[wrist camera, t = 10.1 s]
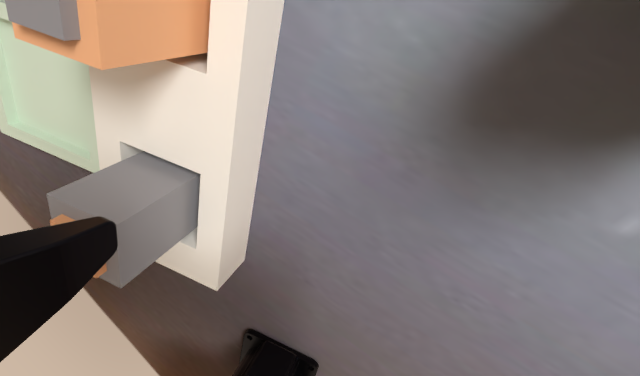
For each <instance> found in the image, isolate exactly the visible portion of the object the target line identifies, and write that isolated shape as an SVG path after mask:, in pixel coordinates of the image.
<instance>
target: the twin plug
mask: <svg viewBox="0 0 640 376" xmlns="http://www.w3.org/2000/svg"><path fill="white" fill-rule="evenodd" d="M200 176H201V174H199V173H196V172H194V171H192V170H189V169H187V168H184V167H182V166H179V165H177V164H175V163H172V162H170V161H167V160H165V159H162V158H160V157H157V156H155V155H153V154H150V153H148V152H145V151H143V152H141V153H138V154H136V155H134V156H132V157H129V158H127V159H125V160H122V161H120V162H118V163H116V164H113V165H111V166H109V167H107V168H104V169H102V170H100V171H97V172H95V173H93V174H91V175H88V176H86V177H84V178H81V179H79V180H77V181H75V182H72V183H70V184H68V185H66V186H63V187H61V188H59V189H56V190H54V191H52V192H50V193H47V199H48V204H49V209H50V214H51V220H50V224H51V226H52V225H57V224H62V223H67V222H71V221H76V220H81V219H86V218H91V217H96V216H103V217H105V218H107V219H110V220H112V221H114V222H115V224H116V227H117V238H118V248H117V250H116V252H115V254H114V255H113V256H112V257H111V258H110V259H109V260H108V261H107V262H106V263H105V264H104V265H103V266H102V268H101V269H100V270H99V271H98V272H97V273H96V274H95V275H94V276H93V277H95V278H98V277H99V278H101V279H103V280H105V281H107V282H109V283H111V284H113V285H115V286H117V287H119V288H122V287H124V286H125V285H126V284H127V283H129V282H130V281H131V280H132V279H134V278H135V277H136V276H137V275H138V274H140V273H141V272H142V271H143V270H145V269H146V268H147V267H148V266H150V265H151V264H152V263H153V262H155V261H156V260H157V259H158V258H159V257H161V256H162V255H163V254H164V253H166V252H167V251H168V250H169V249H171V248H172V247H173V246H174V245H175V244H177V243H178V242H179V241H180V240H182V239H183V238H184V237H185V236H187V235H188V234H189V233H190V232H192V231H193V230H194V229H195V228H196V227H198V210H199V193H200Z"/></svg>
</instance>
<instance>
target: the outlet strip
mask: <svg viewBox="0 0 640 376" xmlns="http://www.w3.org/2000/svg"><path fill="white" fill-rule="evenodd" d="M283 7H284V0H211V5H210V22H209V39H208V53H202V54H196V55H190V56H184V57H178V58H172V59H166V60H160V61H154V62H148V63H142V64H136V65H130V66H124V67H118V68H112V69H105V70H100V69H97V68H95V67H92V66H89V74H90V84H91V93H92V102H93V112H94V121H95V130H96V139H97V149H98V158H99V167H100V170H102V169H104V168H107V167H109V166H111V165H113V164H116V163H118V162H120V161H122V160H125V159H127V158H129V157H132V156H134V155H136V154H138V153H141V152H143V151H145V152H148V153H150V154H153V155H155V156H157V157H160V158H162V159H165V160H167V161H170V162H172V163H175V164H177V165H179V166H182V167H184V168H187V169H189V170H192V171H194V172H196V173H199V174H201V176H200V193H199V210H198V227H196V228H195V229H194V230H193V231H192V232H190V233H189V234H188V235H187V236H185V237H184V238H183V239H182V240H180V241H179V242H178V243H177V244H175V245H174V246H173V247H172V248H171V249H169V250H168V251H167V252H166V253H164V254H163V255H162V256H161V257H159V258H158V259H157V260H156V261H155V262H157V263H159V264H161V265H163V266H165V267H168V268H170V269H172V270H174V271H176V272H178V273H180V274H182V275H184V276H186V277H188V278H190V279H193V280H195V281H197V282H199V283H201V284H203V285H205V286H207V287H209V288H211V289H213V290H215V291H218V290H219V288H220V287H221V286H222V285H223V284H224V283H225V282H226V280H227V279H228V278H229V277H230V276H231V275H232V274H233V273H234V271H235V270H236V269H237V268H238V267H239V266H240V265H241V263H242V262H243V261H244V260H245V255H246V248H247V242H248V235H249V229H250V222H251V216H252V209H253V203H254V196H255V190H256V183H257V176H258V170H259V163H260V157H261V150H262V144H263V137H264V131H265V124H266V118H267V111H268V105H269V98H270V92H271V85H272V78H273V72H274V65H275V59H276V52H277V46H278V39H279V33H280V26H281V20H282V13H283Z"/></svg>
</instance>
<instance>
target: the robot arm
mask: <svg viewBox="0 0 640 376" xmlns="http://www.w3.org/2000/svg"><path fill="white" fill-rule="evenodd" d="M117 248H118V238H117V227H116V224H115V222H114V221H112V220H110V219H107V218H105V217H103V216H96V217H91V218H86V219H81V220H76V221H71V222H67V223H62V224H57V225H52V226H47V227H42V228H37V229H32V230H27V231H23V232H18V233H13V234H8V235H3V236H0V362H1V361H2V360H3V359H4V358H6V357H7V356H8V355H9V354H10V353H11V352H12V351H14V350H15V349H16V348H17V347H18V346H19V345H20V344H21V343H23V342H24V341H25V340H26V339H27V338H28V337H29V336H31V335H32V334H33V333H34V332H35V331H36V330H37V329H38V328H40V327H41V326H42V325H43V324H44V323H45V322H46V321H48V320H49V319H50V318H51V317H52V316H53V315H54V314H55V313H57V312H58V311H59V310H60V309H61V308H62V307H63V306H64V305H65V304H67V303H68V302H69V301H70V300H71V299H72V298H73V297H74V296H75V295H76V294H77V293H78V292H79V291H80V290H81V289H82V288H83V287H84V285H85V284H86V283H87V282H88V281H89V280H90V279H91V278H92V277H93V276H94V275H95V274H96V273H97V272H98V271H99V270H100V269H101V268H102V266H103V265H104V264H105V263H106V262H107V261H108V260H109V259H110V258H111V257H112V256H113V255H114V254H115V252H116V250H117ZM318 367H319V365H318V363H317V362H316V361H314V360H312V359H310V358H308V357H306V356H304V355H302V354H300V353H298V352H296V351H294V350H292V349H290V348H288V347H286V346H284V345H282V344H280V343H278V342H276V341H274V340H272V339H270V338H268V337H266V336H264V335H262V334H260V333H258V332H256V331H254V330H251V329H249V330H247V332H246V333H245V335H244V340H243V345H242V351H241V357H240V362H239V366H238V367H237V369H236V370H235V372H234V374H233V375H232V376H315V375H316V372H317V370H318Z"/></svg>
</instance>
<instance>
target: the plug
mask: <svg viewBox="0 0 640 376" xmlns="http://www.w3.org/2000/svg"><path fill="white" fill-rule="evenodd" d="M5 3H6V8H7V13H8V18H9V21H11V22H12V25H13V30H14V35H15V38H17V39H20V40H22V41H25V42H28V43H30V44H33V45H36V46H38V47H41V48H44V49H46V50H49V51H52V52H55V53H57V54H60V55H63V56H65V57H68V58H71V59H73V60H76V61H79V62H81V63H84V64H87V65H89V66H92V67H95V68H97V69H100V70H105V69H112V68H118V67H124V66H130V65H136V64H142V63H148V62H154V61H160V60H166V59H172V58H178V57H184V56H190V55H196V54H202V53H208V39H209V22H210V5H211V0H5Z"/></svg>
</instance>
